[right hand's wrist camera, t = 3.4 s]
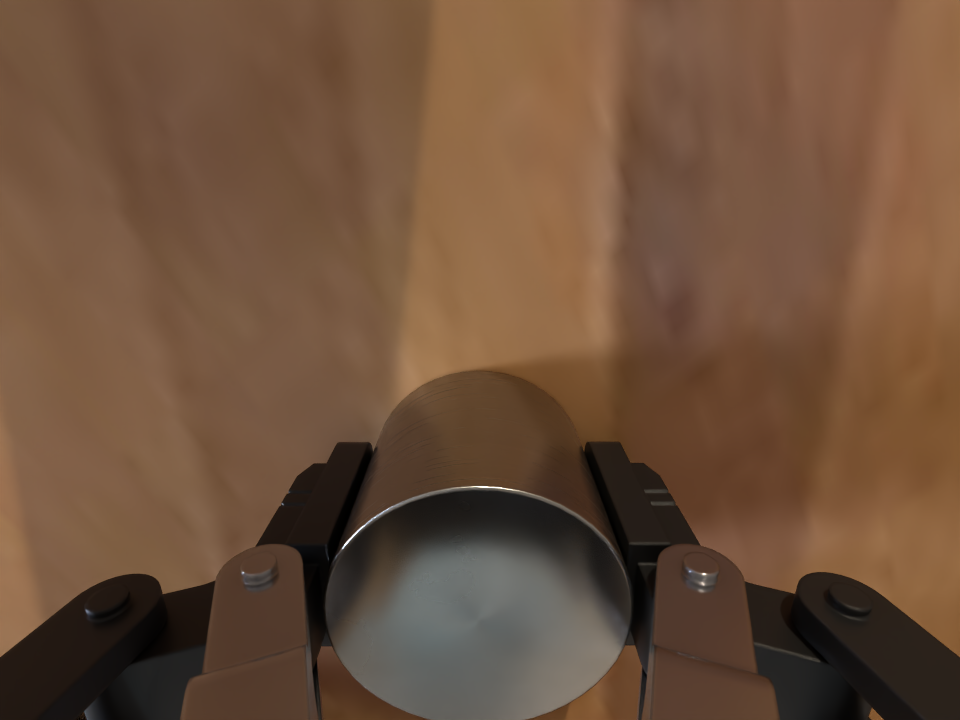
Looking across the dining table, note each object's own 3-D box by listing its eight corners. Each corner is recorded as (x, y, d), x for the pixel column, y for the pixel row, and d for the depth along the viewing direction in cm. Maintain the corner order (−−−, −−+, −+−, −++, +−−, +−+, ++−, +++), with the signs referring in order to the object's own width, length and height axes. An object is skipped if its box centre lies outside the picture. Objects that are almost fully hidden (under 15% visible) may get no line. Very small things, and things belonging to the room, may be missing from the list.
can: (531, 570, 14) (555, 756, 9) (351, 513, 13) (287, 683, 9) (617, 413, 12) (692, 548, 8) (415, 338, 11) (376, 440, 7)
